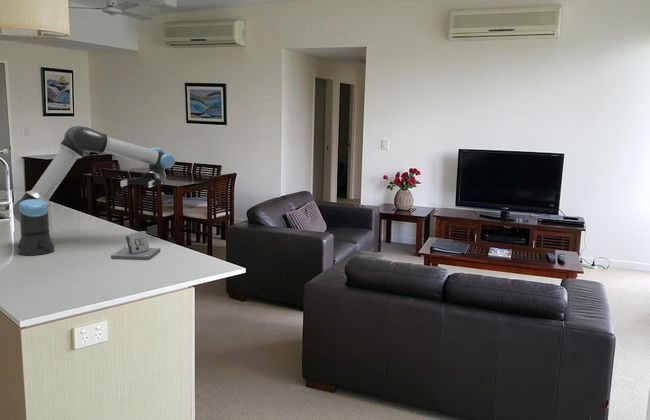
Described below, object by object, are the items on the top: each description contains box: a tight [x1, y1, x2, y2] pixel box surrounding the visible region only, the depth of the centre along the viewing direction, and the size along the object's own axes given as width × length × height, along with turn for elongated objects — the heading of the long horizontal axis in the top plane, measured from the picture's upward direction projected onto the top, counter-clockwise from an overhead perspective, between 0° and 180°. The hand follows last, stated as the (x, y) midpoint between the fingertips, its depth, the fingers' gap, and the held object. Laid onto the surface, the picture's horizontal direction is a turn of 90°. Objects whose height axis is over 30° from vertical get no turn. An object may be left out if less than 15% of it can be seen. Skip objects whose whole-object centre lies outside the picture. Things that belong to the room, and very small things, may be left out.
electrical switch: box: [125, 230, 150, 254], centre depth 255 cm, size 9×5×9 cm, turn 148°
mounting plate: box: [110, 246, 161, 261], centre depth 255 cm, size 17×16×2 cm
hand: (135, 184), depth 269 cm, fingers open, 13 cm apart
